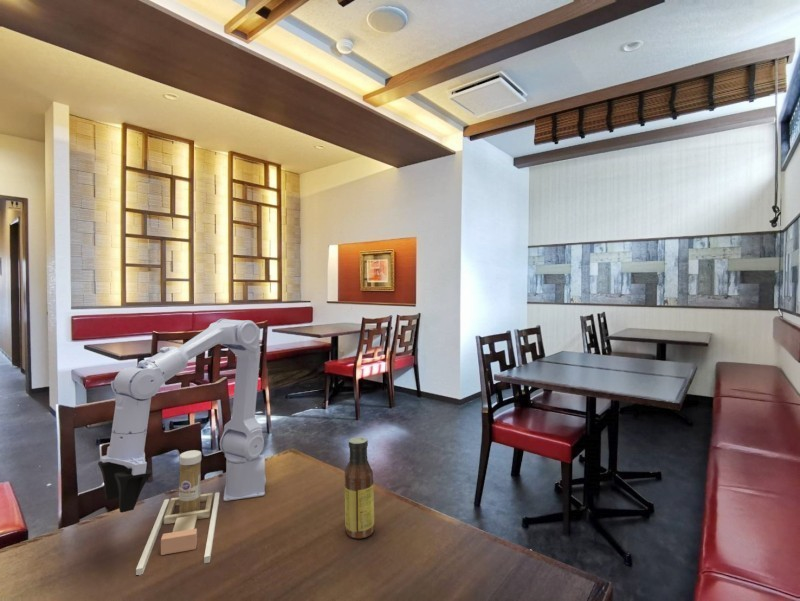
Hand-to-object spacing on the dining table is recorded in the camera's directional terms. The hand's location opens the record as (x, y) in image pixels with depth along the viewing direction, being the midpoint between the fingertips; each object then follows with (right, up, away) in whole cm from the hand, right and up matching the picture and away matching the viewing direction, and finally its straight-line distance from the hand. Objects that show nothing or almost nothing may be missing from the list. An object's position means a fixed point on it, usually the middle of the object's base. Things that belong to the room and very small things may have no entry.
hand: (119, 504), depth 78 cm
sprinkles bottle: (+5, -10, +17) cm, 21 cm away
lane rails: (+7, -10, +10) cm, 16 cm away
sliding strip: (+6, -10, +12) cm, 17 cm away
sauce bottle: (+44, -11, +10) cm, 47 cm away
